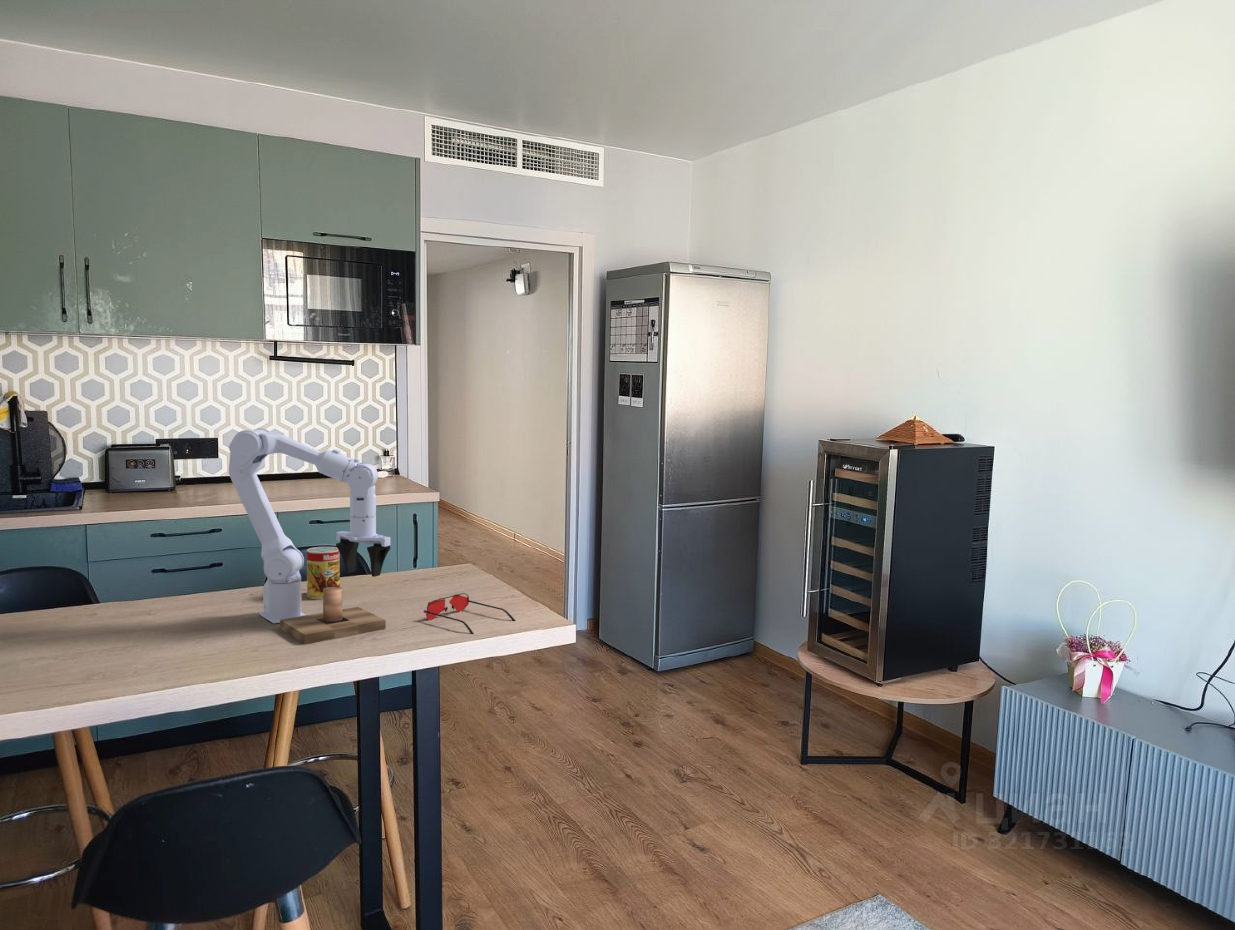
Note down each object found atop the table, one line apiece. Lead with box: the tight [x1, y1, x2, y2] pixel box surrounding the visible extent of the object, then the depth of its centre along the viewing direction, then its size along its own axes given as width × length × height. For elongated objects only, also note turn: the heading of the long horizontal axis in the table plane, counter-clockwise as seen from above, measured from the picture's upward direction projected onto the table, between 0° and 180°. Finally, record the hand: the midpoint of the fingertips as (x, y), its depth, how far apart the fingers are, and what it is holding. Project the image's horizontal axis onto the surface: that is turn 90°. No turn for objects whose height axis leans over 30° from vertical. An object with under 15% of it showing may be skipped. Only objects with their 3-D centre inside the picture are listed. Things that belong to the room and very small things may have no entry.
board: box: [279, 606, 387, 645], centre depth 181 cm, size 14×18×2 cm
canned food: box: [306, 546, 341, 601], centre depth 209 cm, size 8×8×12 cm
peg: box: [322, 586, 343, 625], centre depth 181 cm, size 4×4×9 cm
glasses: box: [422, 592, 516, 635], centre depth 190 cm, size 14×16×5 cm
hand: (363, 573), depth 189 cm, fingers open, 7 cm apart
